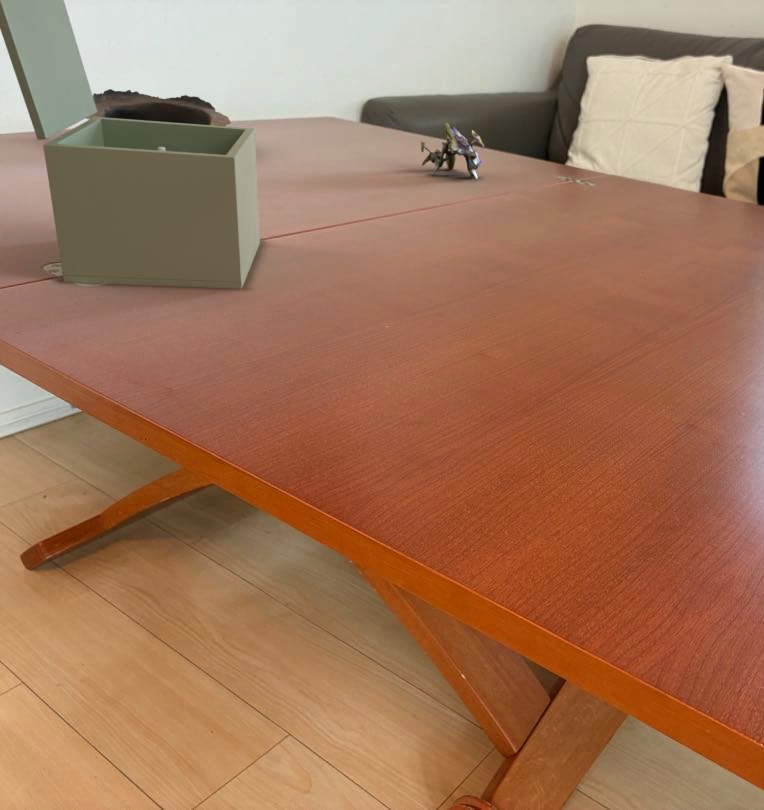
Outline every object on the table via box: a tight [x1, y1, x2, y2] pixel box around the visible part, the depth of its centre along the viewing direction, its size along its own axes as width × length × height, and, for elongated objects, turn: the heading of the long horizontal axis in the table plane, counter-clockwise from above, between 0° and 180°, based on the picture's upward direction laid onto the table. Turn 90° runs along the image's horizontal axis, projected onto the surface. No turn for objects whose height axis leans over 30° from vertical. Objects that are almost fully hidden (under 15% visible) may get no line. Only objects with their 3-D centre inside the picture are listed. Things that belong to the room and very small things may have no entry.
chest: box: [42, 117, 261, 290], centre depth 97 cm, size 18×18×14 cm
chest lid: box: [0, 0, 97, 141], centre depth 87 cm, size 19×18×1 cm
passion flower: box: [420, 122, 486, 180], centre depth 157 cm, size 11×11×12 cm
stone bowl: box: [85, 88, 231, 127], centre depth 150 cm, size 25×25×9 cm
